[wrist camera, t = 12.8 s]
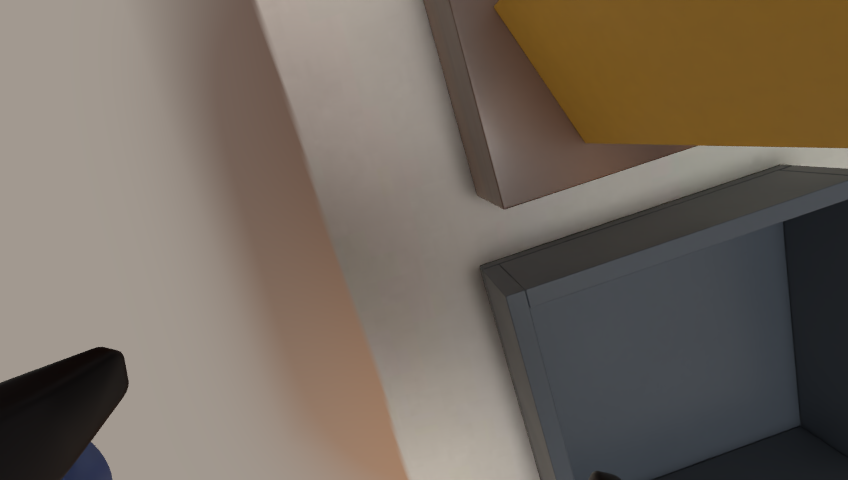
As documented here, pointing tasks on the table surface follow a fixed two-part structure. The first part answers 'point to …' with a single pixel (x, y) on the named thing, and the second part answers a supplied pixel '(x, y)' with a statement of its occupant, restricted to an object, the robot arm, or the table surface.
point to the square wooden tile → (515, 112)
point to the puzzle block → (692, 69)
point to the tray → (688, 336)
